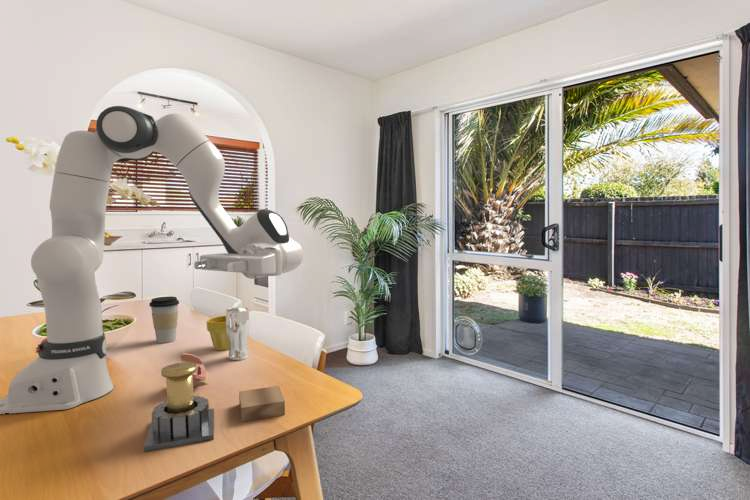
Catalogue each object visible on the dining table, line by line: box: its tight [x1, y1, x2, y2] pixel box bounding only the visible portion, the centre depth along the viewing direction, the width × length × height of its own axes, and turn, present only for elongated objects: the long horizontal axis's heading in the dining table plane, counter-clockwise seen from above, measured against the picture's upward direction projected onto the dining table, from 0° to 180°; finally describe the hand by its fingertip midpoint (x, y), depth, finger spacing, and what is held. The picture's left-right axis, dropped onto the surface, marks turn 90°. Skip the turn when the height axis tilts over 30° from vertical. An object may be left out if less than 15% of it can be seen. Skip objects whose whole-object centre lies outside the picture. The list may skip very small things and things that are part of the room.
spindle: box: [160, 362, 197, 414], centre depth 85 cm, size 6×6×12 cm
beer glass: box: [225, 306, 251, 361], centre depth 129 cm, size 7×7×15 cm
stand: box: [238, 385, 286, 422], centre depth 94 cm, size 9×9×3 cm
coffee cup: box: [149, 296, 180, 344], centre depth 147 cm, size 9×9×15 cm
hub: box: [143, 395, 215, 453], centre depth 85 cm, size 12×12×5 cm
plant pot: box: [206, 315, 229, 351], centre depth 139 cm, size 10×10×10 cm
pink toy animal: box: [178, 353, 209, 387], centre depth 107 cm, size 9×10×10 cm
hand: (210, 266), depth 95 cm, fingers open, 8 cm apart
